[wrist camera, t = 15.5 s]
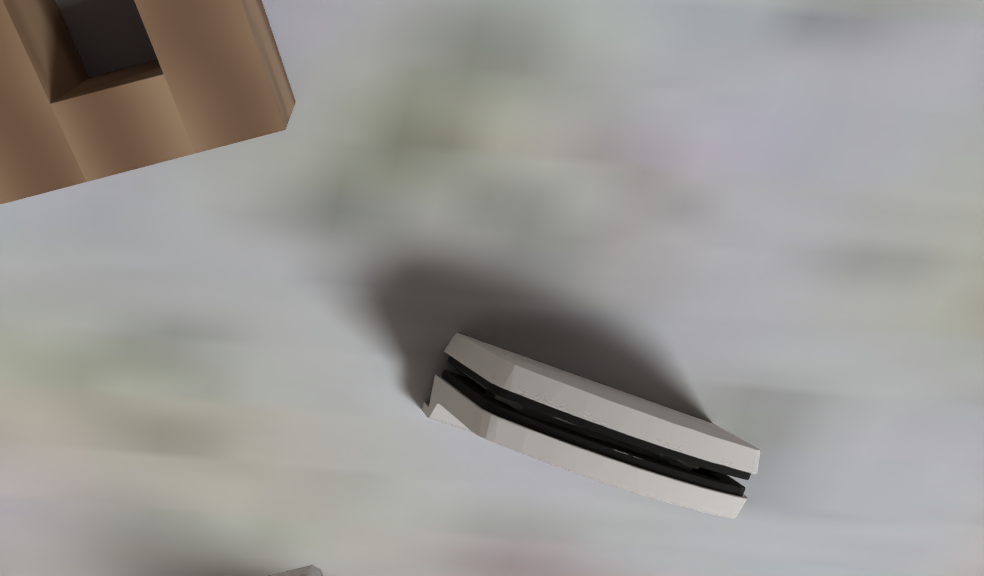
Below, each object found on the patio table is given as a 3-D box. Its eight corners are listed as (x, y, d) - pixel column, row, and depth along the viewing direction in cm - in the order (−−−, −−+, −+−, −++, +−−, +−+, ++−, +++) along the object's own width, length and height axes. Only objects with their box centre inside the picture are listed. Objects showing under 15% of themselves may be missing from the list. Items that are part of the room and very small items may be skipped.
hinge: (414, 407, 47) (454, 463, 38) (445, 326, 47) (493, 360, 38) (674, 492, 52) (768, 560, 42) (702, 417, 52) (803, 468, 42)
